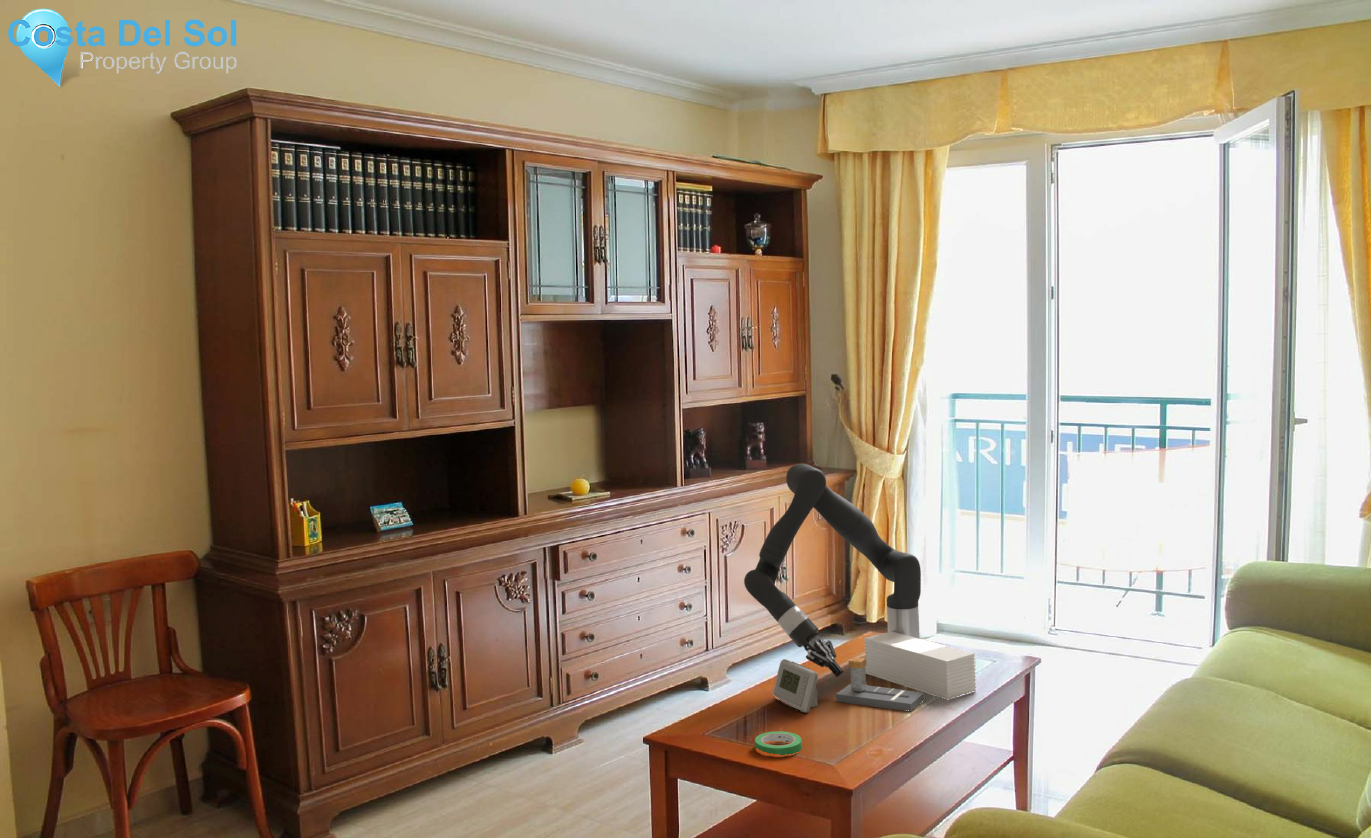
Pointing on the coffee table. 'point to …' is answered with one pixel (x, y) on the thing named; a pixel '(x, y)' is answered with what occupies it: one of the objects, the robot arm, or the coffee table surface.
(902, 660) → the stack of papers
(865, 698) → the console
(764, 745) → the tape roll
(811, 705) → the digital clock
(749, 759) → the coffee table surface
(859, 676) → the fader
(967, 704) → the coffee table surface
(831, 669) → the robot arm
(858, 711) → the coffee table surface
